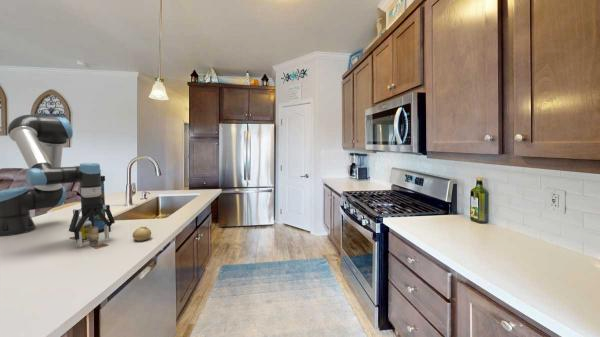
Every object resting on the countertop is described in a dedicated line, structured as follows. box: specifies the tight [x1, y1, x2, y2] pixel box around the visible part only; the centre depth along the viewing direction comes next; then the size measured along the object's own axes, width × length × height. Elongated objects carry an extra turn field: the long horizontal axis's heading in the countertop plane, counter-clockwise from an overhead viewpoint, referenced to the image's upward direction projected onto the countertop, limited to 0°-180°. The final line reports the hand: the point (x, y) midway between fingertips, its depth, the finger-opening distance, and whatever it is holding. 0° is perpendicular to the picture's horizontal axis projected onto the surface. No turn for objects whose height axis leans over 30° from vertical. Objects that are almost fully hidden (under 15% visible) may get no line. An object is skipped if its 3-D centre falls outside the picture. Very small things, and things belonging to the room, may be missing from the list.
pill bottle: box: [74, 215, 91, 242], centre depth 129 cm, size 6×6×12 cm
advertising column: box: [78, 175, 106, 234], centre depth 141 cm, size 11×11×30 cm
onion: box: [132, 226, 152, 242], centre depth 130 cm, size 8×8×7 cm
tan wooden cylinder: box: [88, 226, 100, 246], centre depth 124 cm, size 4×4×8 cm
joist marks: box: [69, 236, 109, 250], centre depth 127 cm, size 28×5×1 cm, turn 60°
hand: (93, 242), depth 124 cm, fingers open, 10 cm apart
